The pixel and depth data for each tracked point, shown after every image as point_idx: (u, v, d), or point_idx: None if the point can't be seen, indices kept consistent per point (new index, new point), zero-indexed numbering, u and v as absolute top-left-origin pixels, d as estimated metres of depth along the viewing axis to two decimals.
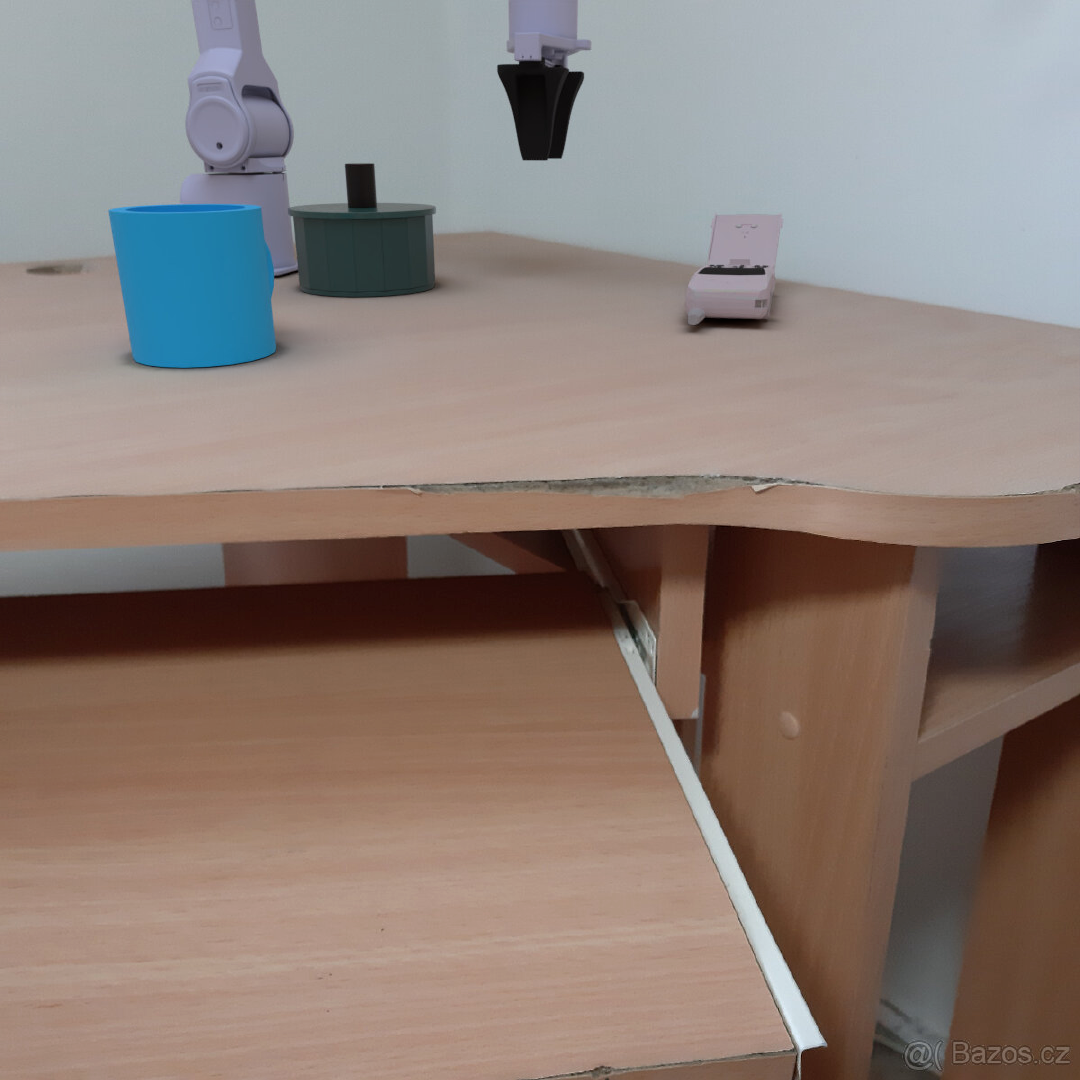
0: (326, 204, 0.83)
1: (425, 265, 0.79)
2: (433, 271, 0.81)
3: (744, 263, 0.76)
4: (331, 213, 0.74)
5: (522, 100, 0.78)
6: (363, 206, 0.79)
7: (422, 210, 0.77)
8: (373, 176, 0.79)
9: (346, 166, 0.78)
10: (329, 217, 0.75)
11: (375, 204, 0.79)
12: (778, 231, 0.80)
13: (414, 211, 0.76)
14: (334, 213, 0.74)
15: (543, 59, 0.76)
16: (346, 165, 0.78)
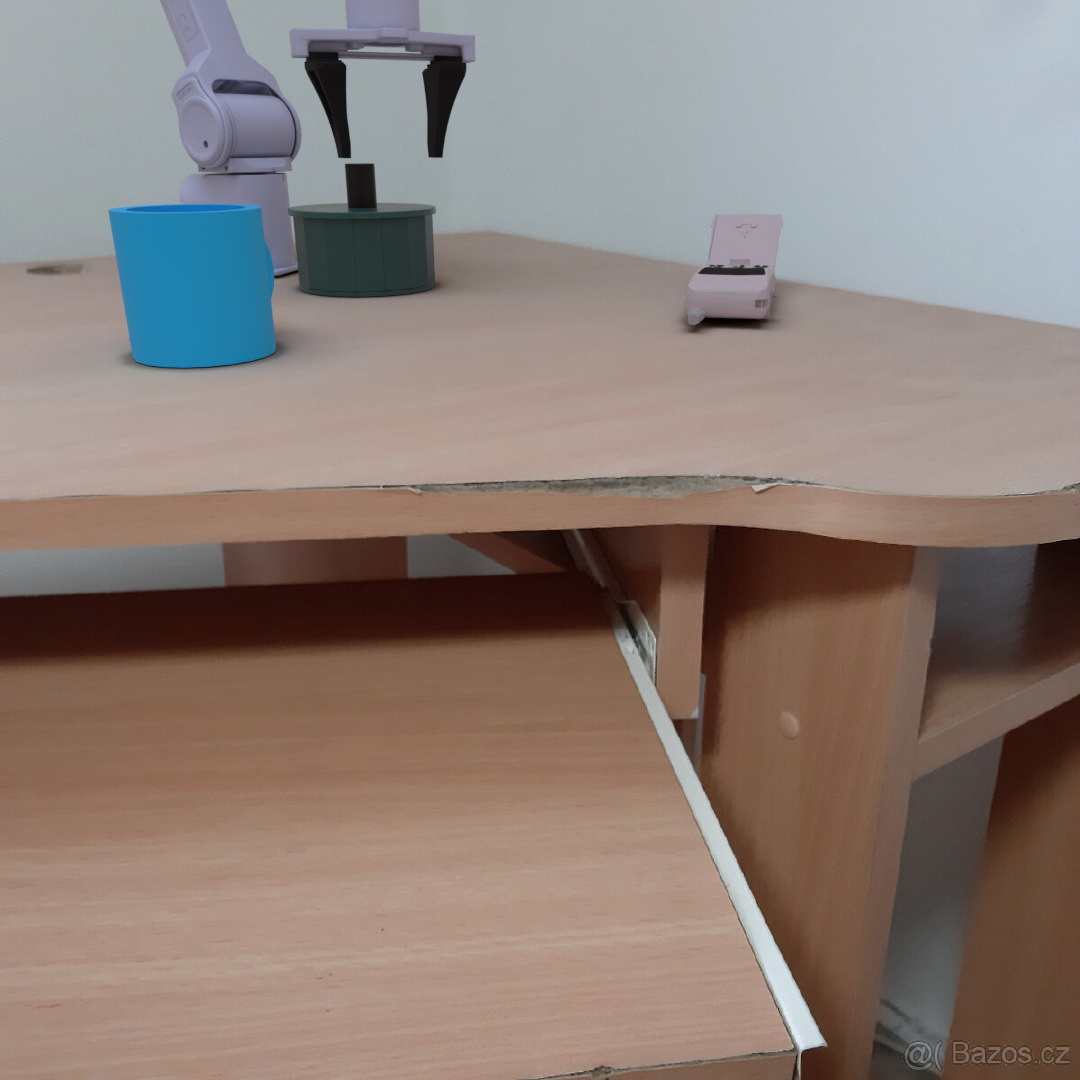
0: (326, 204, 0.83)
1: (425, 265, 0.79)
2: (433, 271, 0.81)
3: (744, 263, 0.76)
4: (331, 213, 0.74)
5: None
6: (363, 206, 0.79)
7: (422, 210, 0.77)
8: (373, 176, 0.79)
9: (346, 166, 0.78)
10: (329, 217, 0.75)
11: (375, 204, 0.79)
12: (778, 231, 0.80)
13: (414, 211, 0.76)
14: (334, 213, 0.74)
15: (329, 54, 0.74)
16: (346, 165, 0.78)
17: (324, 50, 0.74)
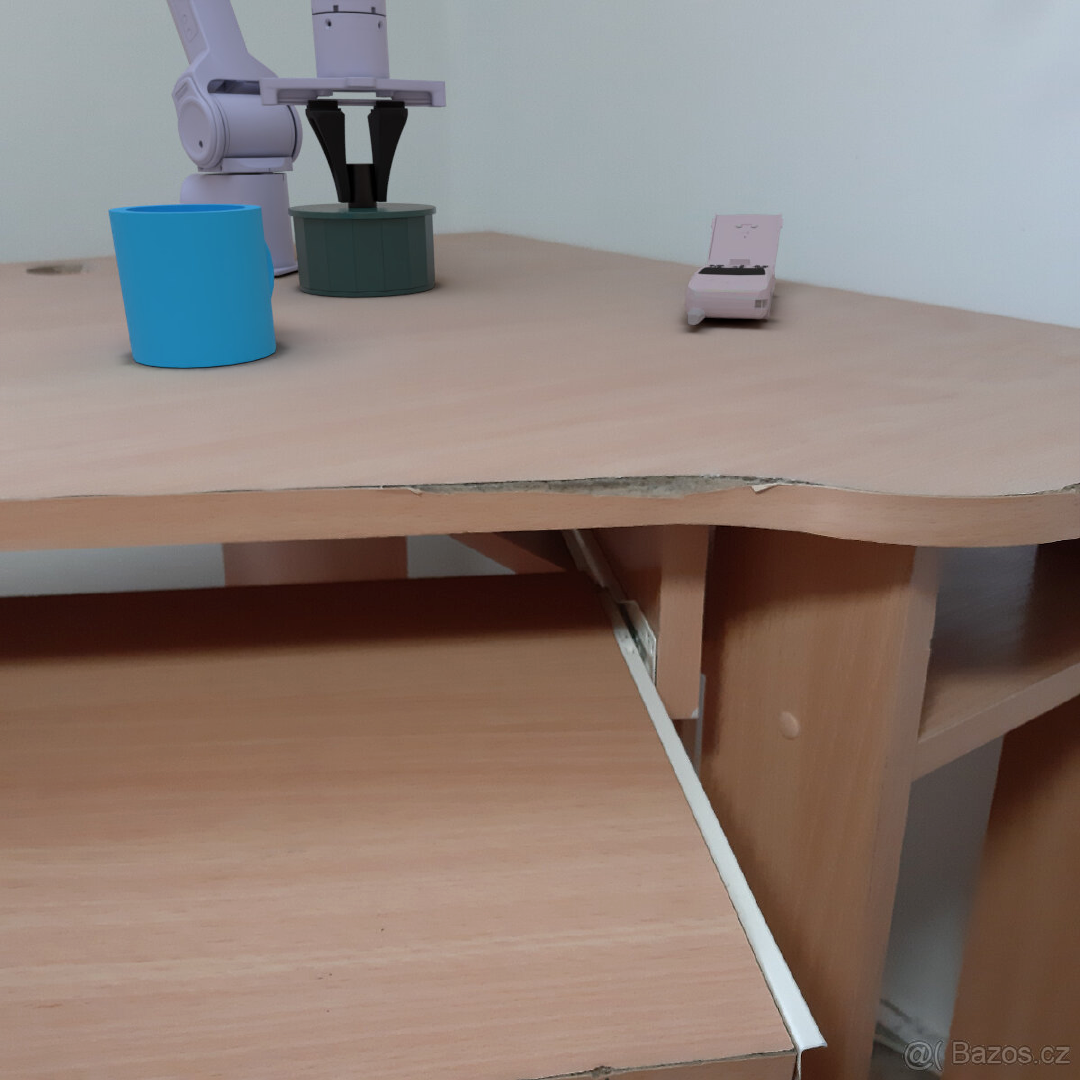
0: (326, 204, 0.83)
1: (425, 265, 0.79)
2: (433, 271, 0.81)
3: (744, 263, 0.76)
4: (331, 213, 0.74)
5: None
6: (363, 206, 0.79)
7: (422, 210, 0.77)
8: (373, 176, 0.79)
9: None
10: (329, 217, 0.75)
11: (375, 204, 0.79)
12: (778, 231, 0.80)
13: (414, 211, 0.76)
14: (334, 213, 0.74)
15: (328, 102, 0.75)
16: None
17: (294, 98, 0.75)
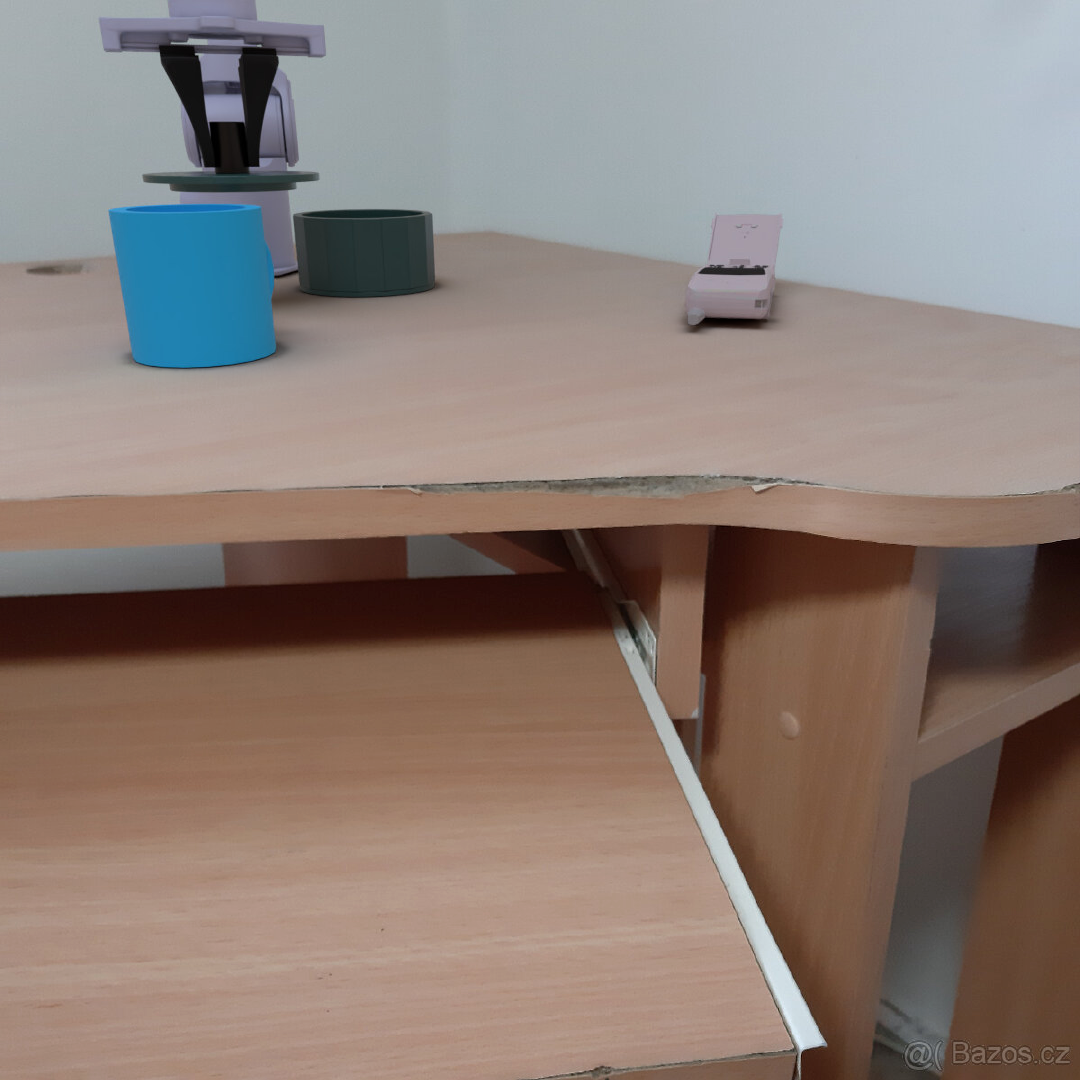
0: None
1: (425, 265, 0.79)
2: (433, 271, 0.81)
3: (744, 263, 0.76)
4: (185, 177, 0.63)
5: None
6: (231, 171, 0.68)
7: (297, 175, 0.66)
8: (242, 136, 0.68)
9: (210, 124, 0.67)
10: (183, 182, 0.64)
11: (246, 169, 0.68)
12: (778, 231, 0.80)
13: (286, 176, 0.65)
14: (188, 177, 0.63)
15: (183, 48, 0.64)
16: (210, 123, 0.67)
17: (142, 42, 0.64)
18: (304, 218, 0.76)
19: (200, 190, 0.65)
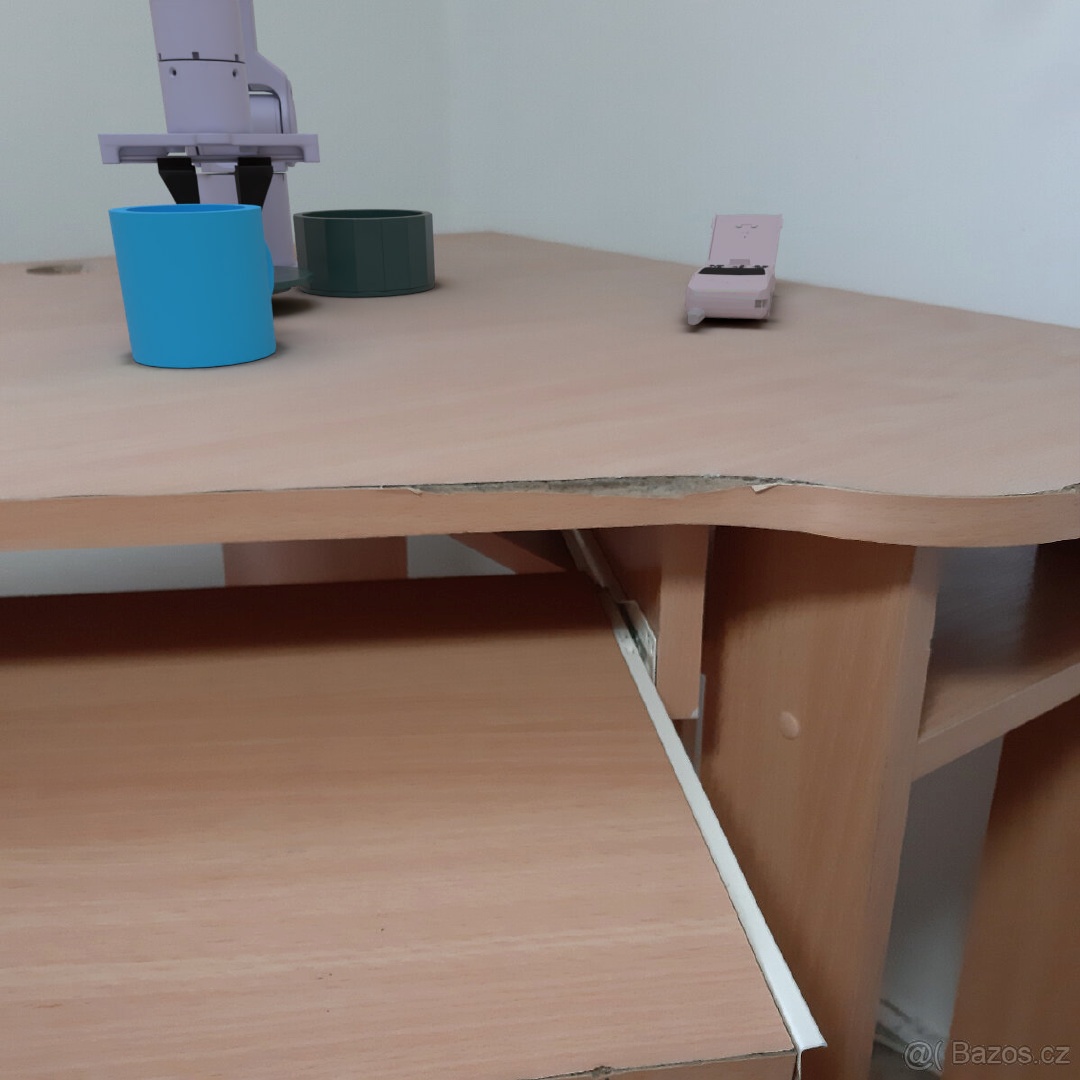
0: None
1: (425, 265, 0.79)
2: (433, 271, 0.81)
3: (744, 263, 0.76)
4: None
5: None
6: None
7: (291, 281, 0.68)
8: None
9: None
10: None
11: None
12: (778, 231, 0.80)
13: (281, 283, 0.67)
14: None
15: (180, 160, 0.66)
16: None
17: (140, 155, 0.66)
18: (304, 218, 0.76)
19: None
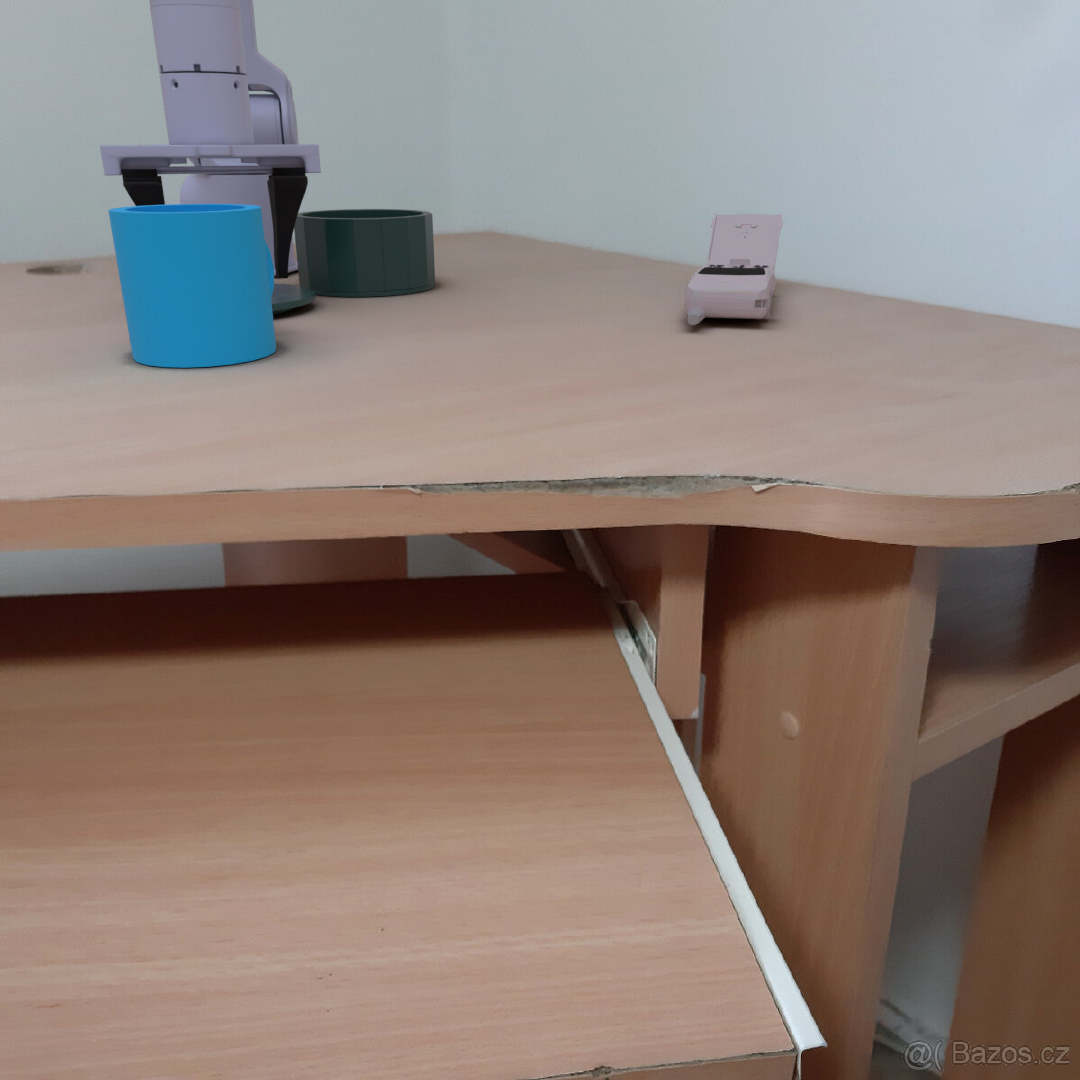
0: None
1: (425, 265, 0.79)
2: (433, 271, 0.81)
3: (744, 263, 0.76)
4: None
5: None
6: None
7: (293, 301, 0.68)
8: None
9: None
10: None
11: None
12: (778, 231, 0.80)
13: (283, 303, 0.68)
14: None
15: (146, 171, 0.66)
16: None
17: (142, 166, 0.66)
18: (304, 218, 0.76)
19: None
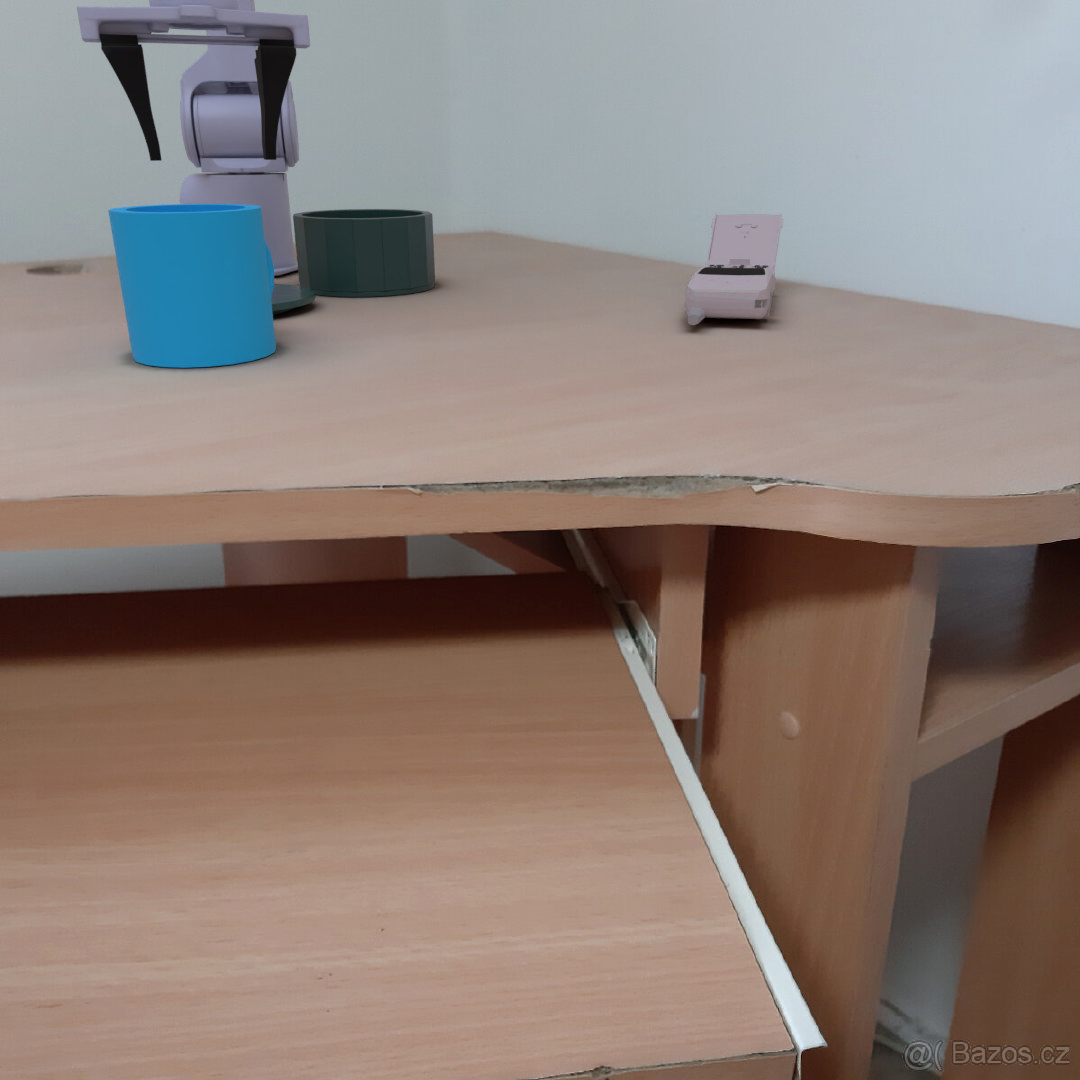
0: None
1: (425, 265, 0.79)
2: (433, 271, 0.81)
3: (744, 263, 0.76)
4: None
5: None
6: None
7: (293, 301, 0.68)
8: None
9: None
10: None
11: None
12: (778, 231, 0.80)
13: (283, 303, 0.68)
14: None
15: (125, 37, 0.62)
16: None
17: (121, 32, 0.63)
18: (304, 218, 0.76)
19: None
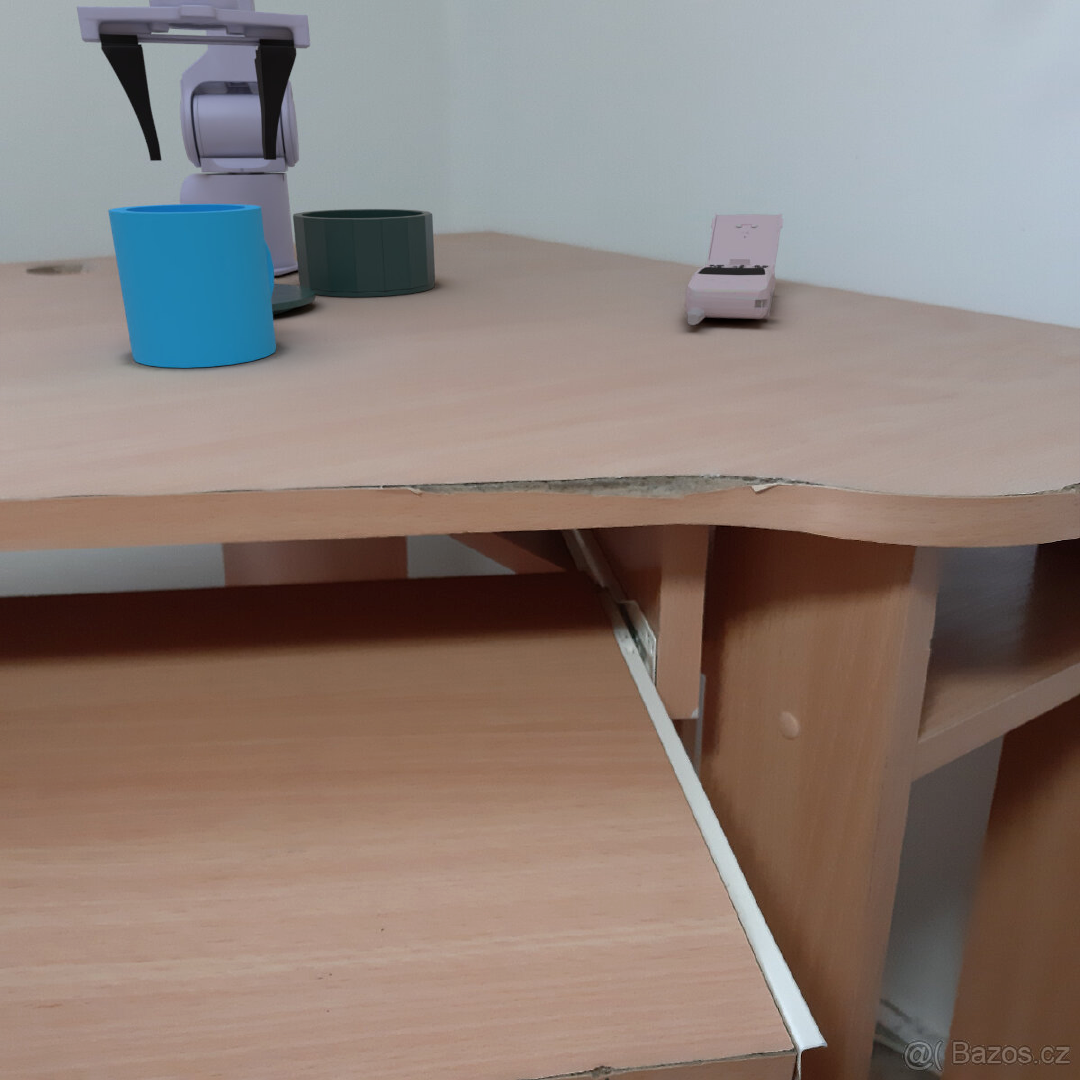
0: None
1: (425, 265, 0.79)
2: (433, 271, 0.81)
3: (744, 263, 0.76)
4: None
5: None
6: None
7: (293, 301, 0.68)
8: None
9: None
10: None
11: None
12: (778, 231, 0.80)
13: (283, 303, 0.68)
14: None
15: (125, 37, 0.62)
16: None
17: (121, 32, 0.63)
18: (304, 218, 0.76)
19: None
